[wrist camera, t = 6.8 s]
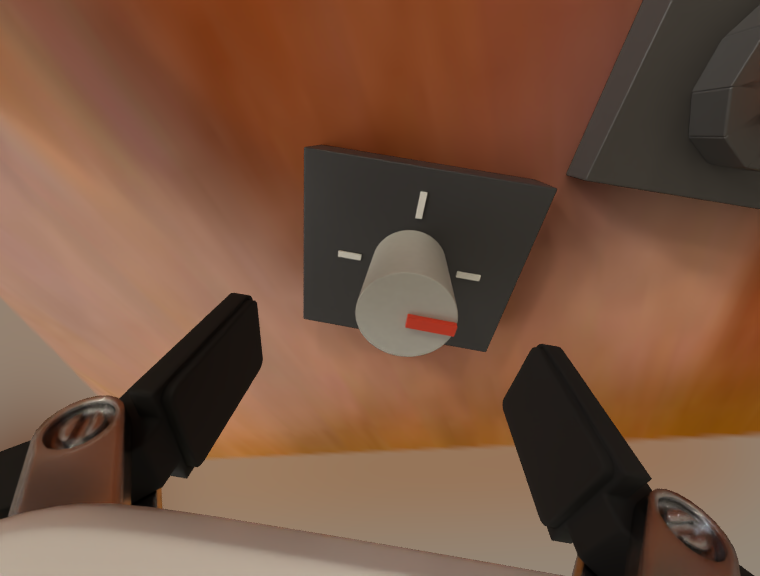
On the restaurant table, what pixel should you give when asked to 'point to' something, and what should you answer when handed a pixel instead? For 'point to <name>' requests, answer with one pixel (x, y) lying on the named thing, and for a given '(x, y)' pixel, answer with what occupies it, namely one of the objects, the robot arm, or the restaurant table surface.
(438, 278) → the timer knob
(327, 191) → the panel
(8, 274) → the restaurant table surface
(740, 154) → the power block
